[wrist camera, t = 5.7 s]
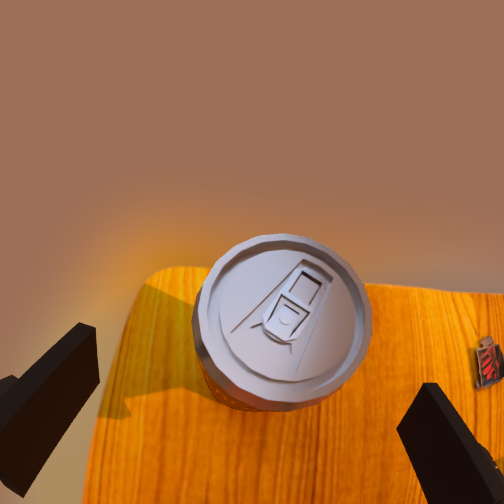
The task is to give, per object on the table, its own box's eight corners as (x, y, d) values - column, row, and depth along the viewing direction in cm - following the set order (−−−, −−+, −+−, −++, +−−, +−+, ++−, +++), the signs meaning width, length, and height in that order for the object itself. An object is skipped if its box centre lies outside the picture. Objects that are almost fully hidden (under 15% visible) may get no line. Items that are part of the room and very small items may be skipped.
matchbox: (506, 372, 19) (510, 371, 19) (479, 398, 18) (483, 397, 18) (493, 331, 21) (496, 329, 21) (465, 352, 20) (468, 351, 20)
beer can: (236, 315, 20) (262, 199, 10) (303, 359, 19) (402, 288, 9) (187, 378, 18) (146, 329, 7) (258, 427, 17) (322, 447, 6)
